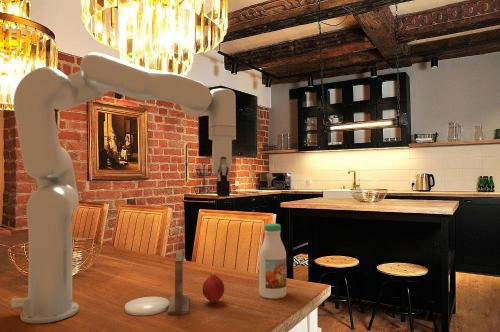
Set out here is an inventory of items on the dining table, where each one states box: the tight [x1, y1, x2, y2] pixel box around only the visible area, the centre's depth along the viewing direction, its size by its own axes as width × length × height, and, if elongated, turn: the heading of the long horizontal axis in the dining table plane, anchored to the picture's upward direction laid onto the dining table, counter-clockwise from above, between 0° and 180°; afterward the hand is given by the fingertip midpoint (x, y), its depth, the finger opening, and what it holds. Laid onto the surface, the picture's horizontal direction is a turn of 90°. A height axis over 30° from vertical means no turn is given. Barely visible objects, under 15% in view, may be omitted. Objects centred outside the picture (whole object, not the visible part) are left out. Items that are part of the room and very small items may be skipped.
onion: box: [202, 272, 225, 304], centre depth 99 cm, size 6×6×8 cm
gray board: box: [167, 250, 190, 316], centre depth 97 cm, size 5×12×13 cm, turn 9°
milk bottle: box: [258, 223, 287, 300], centre depth 106 cm, size 8×8×20 cm
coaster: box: [124, 296, 170, 317], centre depth 96 cm, size 11×11×1 cm
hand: (222, 195), depth 104 cm, fingers open, 9 cm apart
